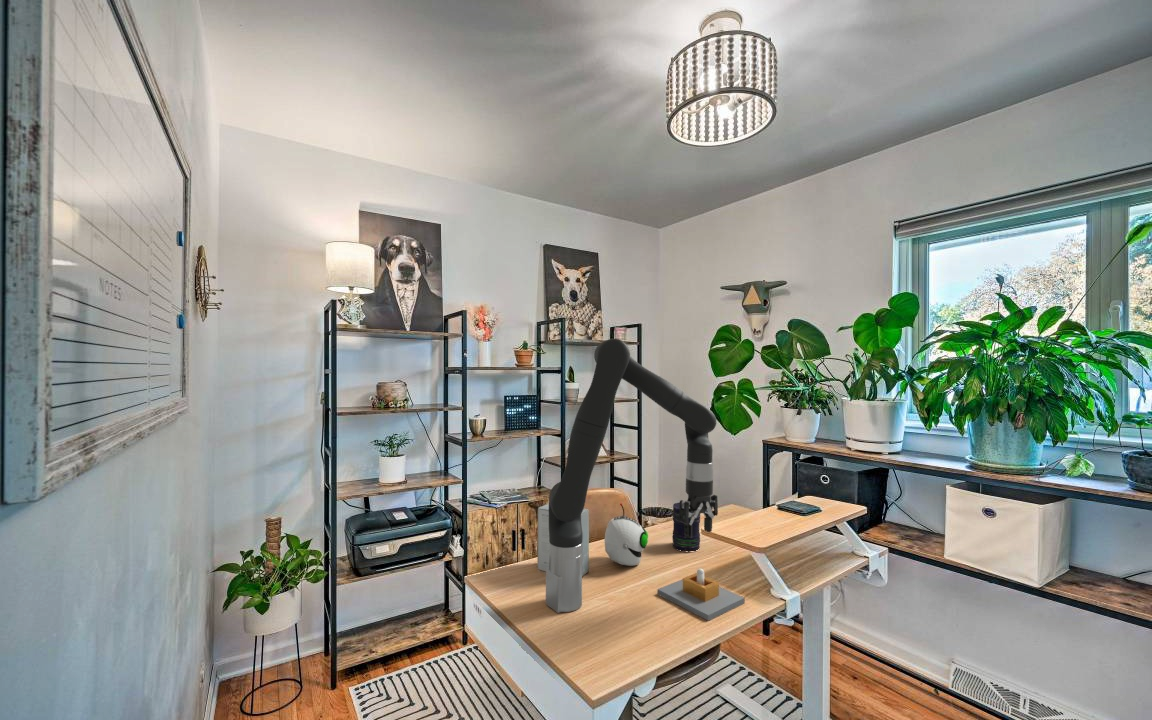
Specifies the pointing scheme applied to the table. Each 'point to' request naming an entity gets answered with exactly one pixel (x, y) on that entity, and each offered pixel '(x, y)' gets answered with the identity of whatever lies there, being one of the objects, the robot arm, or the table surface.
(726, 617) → the table surface
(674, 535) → the storage jar
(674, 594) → the plate
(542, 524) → the hard drive box
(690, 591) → the open wooden box
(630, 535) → the robot head
